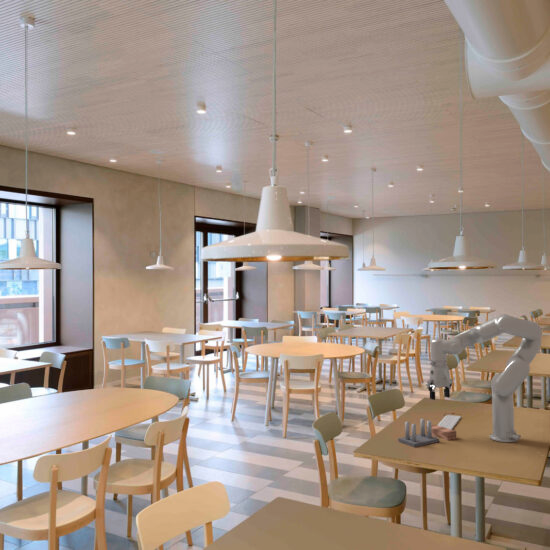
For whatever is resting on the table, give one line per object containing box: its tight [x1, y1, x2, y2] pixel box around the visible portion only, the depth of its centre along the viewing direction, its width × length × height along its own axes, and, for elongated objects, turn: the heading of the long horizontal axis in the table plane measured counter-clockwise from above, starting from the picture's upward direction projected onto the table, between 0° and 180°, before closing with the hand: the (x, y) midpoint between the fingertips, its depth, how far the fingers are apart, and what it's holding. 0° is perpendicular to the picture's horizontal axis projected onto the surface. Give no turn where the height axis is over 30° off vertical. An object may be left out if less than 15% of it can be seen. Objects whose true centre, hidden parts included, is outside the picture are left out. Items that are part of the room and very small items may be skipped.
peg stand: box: [397, 418, 440, 448], centre depth 263 cm, size 11×16×10 cm
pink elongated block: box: [425, 424, 457, 441], centre depth 272 cm, size 14×6×4 cm, turn 30°
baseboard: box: [437, 412, 462, 430], centre depth 296 cm, size 30×3×10 cm
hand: (439, 398), depth 273 cm, fingers open, 9 cm apart
